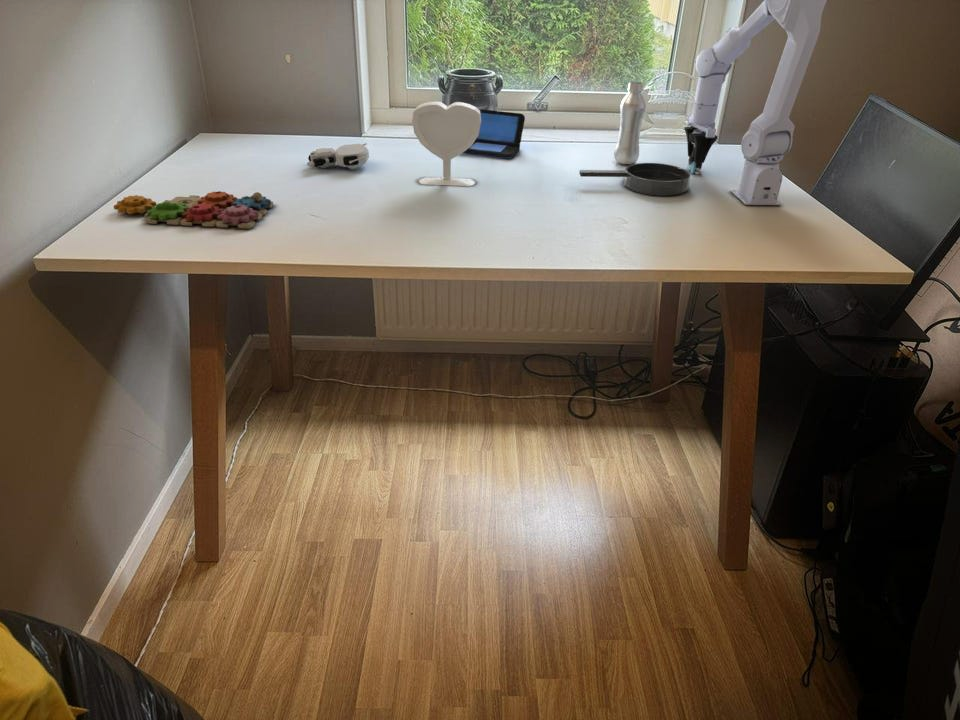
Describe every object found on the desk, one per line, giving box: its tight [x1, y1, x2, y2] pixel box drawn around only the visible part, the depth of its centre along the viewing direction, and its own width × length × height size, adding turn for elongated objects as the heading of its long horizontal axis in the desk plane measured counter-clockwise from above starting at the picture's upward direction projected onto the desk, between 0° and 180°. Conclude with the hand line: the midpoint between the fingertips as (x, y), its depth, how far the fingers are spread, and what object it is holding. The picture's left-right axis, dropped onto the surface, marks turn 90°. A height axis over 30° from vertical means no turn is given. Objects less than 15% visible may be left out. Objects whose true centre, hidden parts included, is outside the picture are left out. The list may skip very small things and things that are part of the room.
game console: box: [462, 108, 526, 160], centre depth 187 cm, size 16×13×9 cm
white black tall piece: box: [686, 129, 703, 175], centre depth 173 cm, size 7×5×10 cm
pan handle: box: [579, 169, 627, 178], centre depth 163 cm, size 2×11×1 cm, turn 93°
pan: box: [623, 162, 691, 197], centre depth 165 cm, size 15×15×4 cm
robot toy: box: [306, 143, 370, 170], centre depth 173 cm, size 12×4×15 cm
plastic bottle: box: [613, 81, 647, 165], centre depth 176 cm, size 6×7×20 cm
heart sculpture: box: [411, 100, 481, 187], centre depth 160 cm, size 16×5×18 cm, turn 88°
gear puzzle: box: [113, 190, 274, 230], centre depth 142 cm, size 31×16×4 cm, turn 85°
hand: (695, 159), depth 175 cm, fingers closed on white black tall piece, 5 cm apart
